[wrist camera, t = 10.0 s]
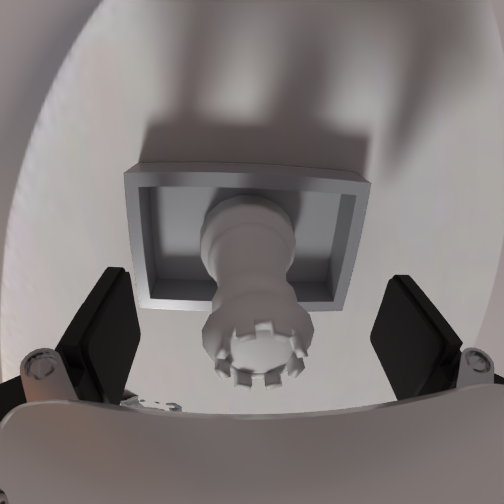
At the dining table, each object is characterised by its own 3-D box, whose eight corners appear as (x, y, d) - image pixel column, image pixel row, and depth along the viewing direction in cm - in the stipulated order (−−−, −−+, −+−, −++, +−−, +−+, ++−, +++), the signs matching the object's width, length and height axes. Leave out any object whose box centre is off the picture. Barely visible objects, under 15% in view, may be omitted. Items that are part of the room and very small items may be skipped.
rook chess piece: (295, 267, 16) (338, 394, 9) (210, 280, 16) (200, 413, 9) (287, 184, 14) (347, 282, 7) (191, 199, 14) (153, 311, 7)
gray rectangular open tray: (354, 172, 14) (371, 183, 12) (331, 288, 17) (341, 310, 15) (137, 162, 13) (123, 173, 11) (148, 285, 16) (140, 307, 14)
